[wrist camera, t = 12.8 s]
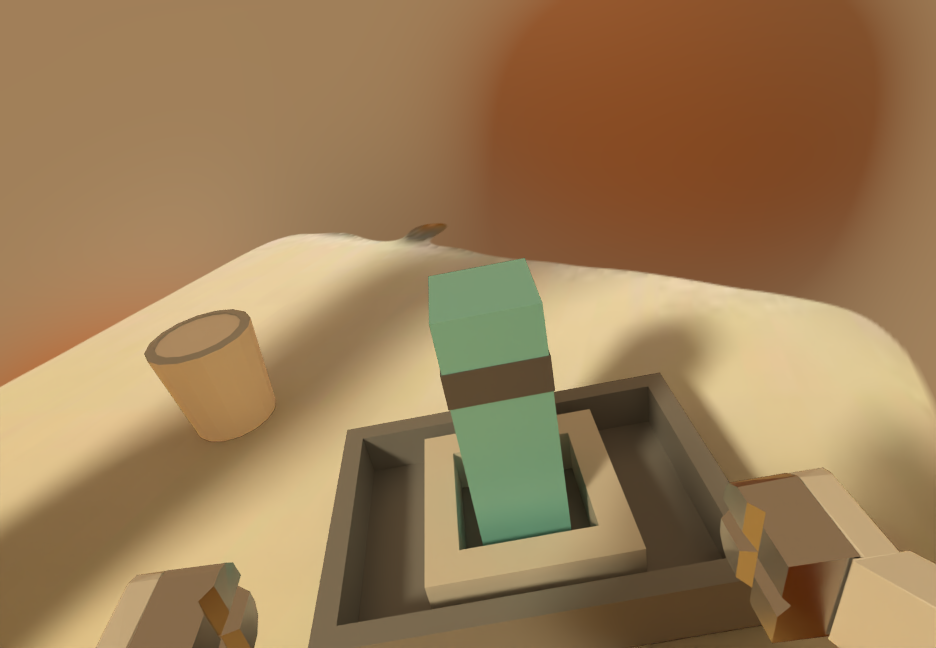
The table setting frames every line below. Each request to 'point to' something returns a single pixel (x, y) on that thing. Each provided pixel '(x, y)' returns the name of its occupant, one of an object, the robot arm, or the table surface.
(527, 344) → the plug
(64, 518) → the table surface
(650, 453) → the grey tray
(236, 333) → the beige cylinder
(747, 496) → the robot arm
